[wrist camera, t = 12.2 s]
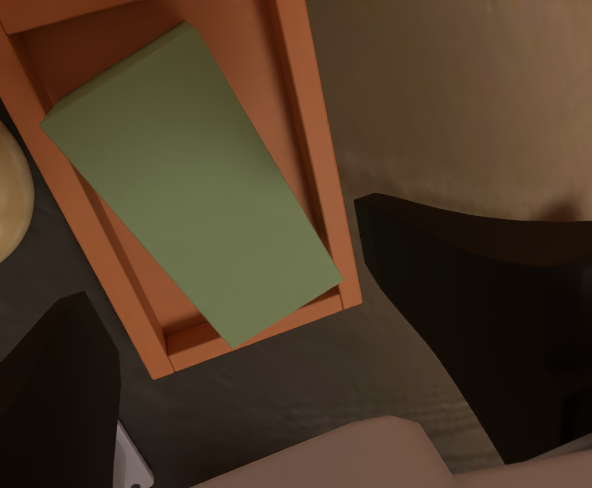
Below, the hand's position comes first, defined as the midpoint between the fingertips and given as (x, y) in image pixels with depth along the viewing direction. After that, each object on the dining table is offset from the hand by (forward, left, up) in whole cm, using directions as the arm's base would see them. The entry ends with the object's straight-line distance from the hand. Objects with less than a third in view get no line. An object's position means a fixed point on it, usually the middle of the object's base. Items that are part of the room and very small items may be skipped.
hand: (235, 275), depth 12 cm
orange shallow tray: (0, 0, -8) cm, 8 cm away
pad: (0, 0, -8) cm, 8 cm away
